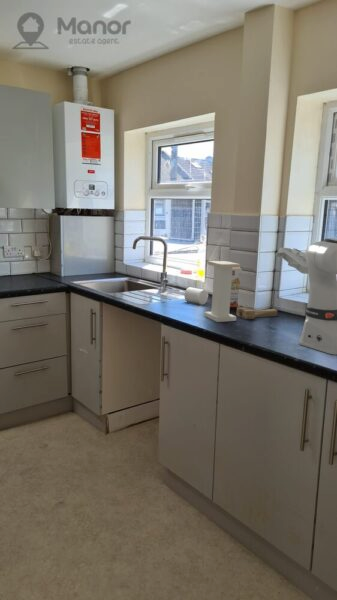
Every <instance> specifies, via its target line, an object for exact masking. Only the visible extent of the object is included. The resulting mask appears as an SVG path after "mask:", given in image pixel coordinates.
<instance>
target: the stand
mask: <svg viewBox="0 0 337 600" xmlns="http://www.w3.org/2000/svg"><path fill="white" fill-rule="evenodd" d="M207 265H209V266H212V267H213V281H212V282H213V283H212V294H211V295H212V297H211V311H204V313H203V317H205V318H207V319H210V320H211V321H214V322H216V323H221V322H234V321H235V322H236V321H237V316H236V315H234V314H232V313H230V309H231V307H230V296H231V283H232V269H233V268H240V267H241V264H240V263H237V262H233V261H227V260H208V261H207Z"/></svg>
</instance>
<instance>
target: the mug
mask: <svg viewBox="0 0 337 600" xmlns="http://www.w3.org/2000/svg"><path fill="white" fill-rule="evenodd" d="M208 297H209V294H208V292H207V290H206V289H202V288H198V287H192V286H191V287H190V286H189V287H187V288H186V290H185V291H184V300H185V301H186V302H188V303H193V304H199V305H205V304H206V302H207V301H208Z"/></svg>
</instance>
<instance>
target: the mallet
mask: <svg viewBox="0 0 337 600" xmlns="http://www.w3.org/2000/svg"><path fill="white" fill-rule="evenodd" d="M236 315H237V316H236ZM236 315H235V316H236V317H239V318H240V319H241V318H242V319H244V320H252V319H255V318H263V317H277V316H278V310H277V309H276V308H265V309H252V308H249V307H247V306H246V307H236Z"/></svg>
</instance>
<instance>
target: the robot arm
mask: <svg viewBox="0 0 337 600" xmlns="http://www.w3.org/2000/svg"><path fill="white" fill-rule="evenodd" d="M275 256H276V257H279V258H281V259H283V260H284V261H286V262H287V265H288V266H289V267H292V268H294V269H296V270H297V271H298V272H300V274H304V275H305V274H306V275H307V274H308V280H309V281H308V283H309V289H308V290H309V291H308V299H307V304H306V308H305V315H306V316H305V320H304V323H303V327H302V332H301V335H300V338H299V340H298V345H300V346H303V347H307V348H310V349H312V350H317V351H320V352H322V353H327V354H330V355H335V356H336V355H337V239H336V238H332V237H329V238H327V237H326V238H324V239H323V240H322V241H316V242H313V243H311V244H309V245H308V246H307V247H306V249H305V251H301V250H299V249H297V248H293V247H292V248H289V247H280V248H279V249H278V251H277V252H276V254H275Z"/></svg>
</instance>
